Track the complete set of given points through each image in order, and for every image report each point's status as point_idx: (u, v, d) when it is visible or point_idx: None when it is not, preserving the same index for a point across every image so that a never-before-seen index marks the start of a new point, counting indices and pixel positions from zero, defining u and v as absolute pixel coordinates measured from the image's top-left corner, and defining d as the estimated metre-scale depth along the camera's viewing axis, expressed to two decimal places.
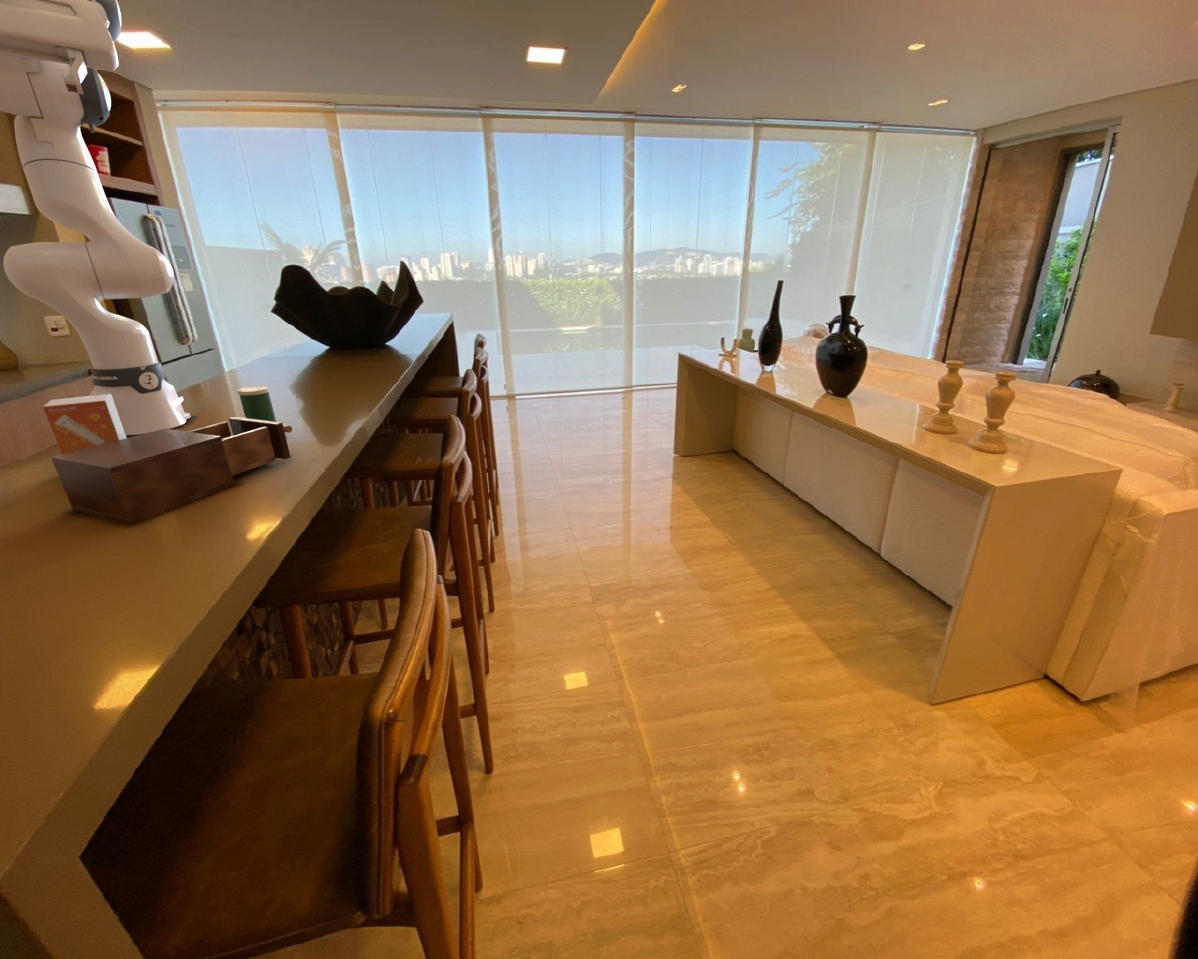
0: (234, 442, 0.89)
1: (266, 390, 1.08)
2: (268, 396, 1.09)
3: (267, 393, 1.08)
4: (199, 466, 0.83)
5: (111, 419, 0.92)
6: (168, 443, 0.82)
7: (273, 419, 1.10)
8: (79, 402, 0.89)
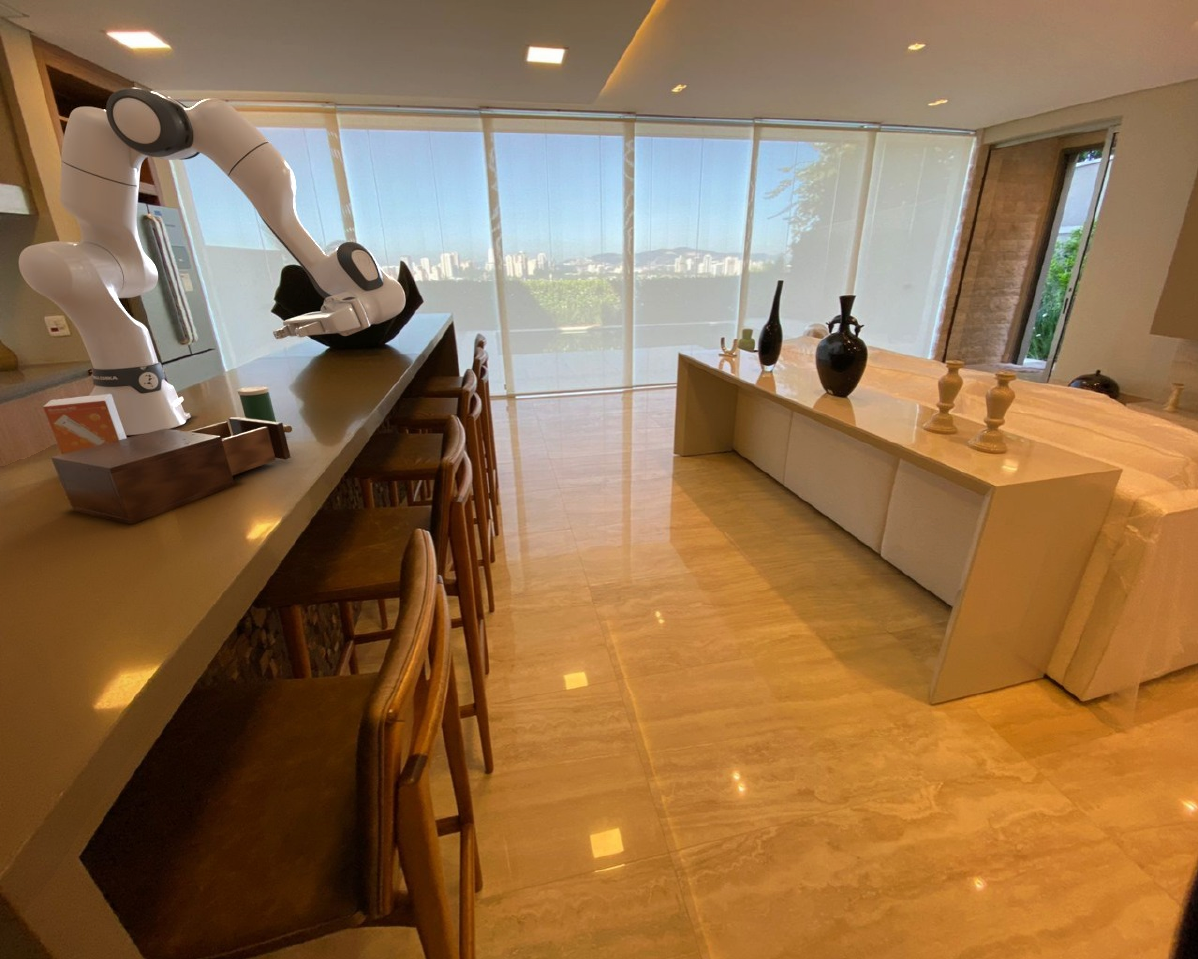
0: (234, 442, 0.89)
1: (266, 390, 1.08)
2: (268, 396, 1.09)
3: (267, 393, 1.08)
4: (199, 466, 0.83)
5: (111, 419, 0.92)
6: (168, 443, 0.82)
7: (273, 419, 1.10)
8: (79, 402, 0.89)
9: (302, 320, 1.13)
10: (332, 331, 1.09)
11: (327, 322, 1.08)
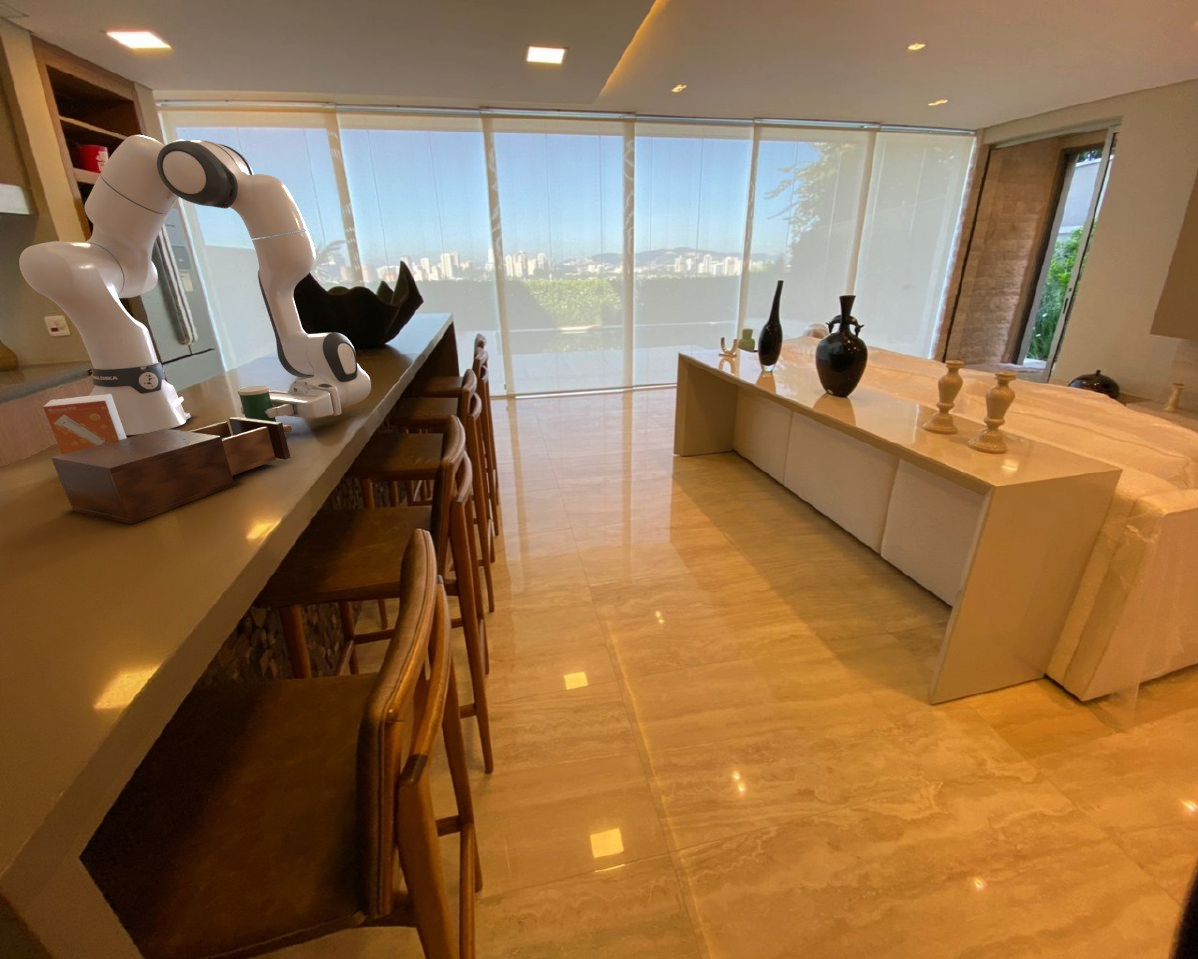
0: (234, 442, 0.89)
1: (266, 390, 1.08)
2: (268, 396, 1.09)
3: (267, 393, 1.08)
4: (199, 466, 0.83)
5: (111, 419, 0.92)
6: (168, 443, 0.82)
7: (273, 419, 1.10)
8: (79, 402, 0.89)
9: (272, 399, 1.13)
10: (309, 416, 1.10)
11: (306, 408, 1.10)
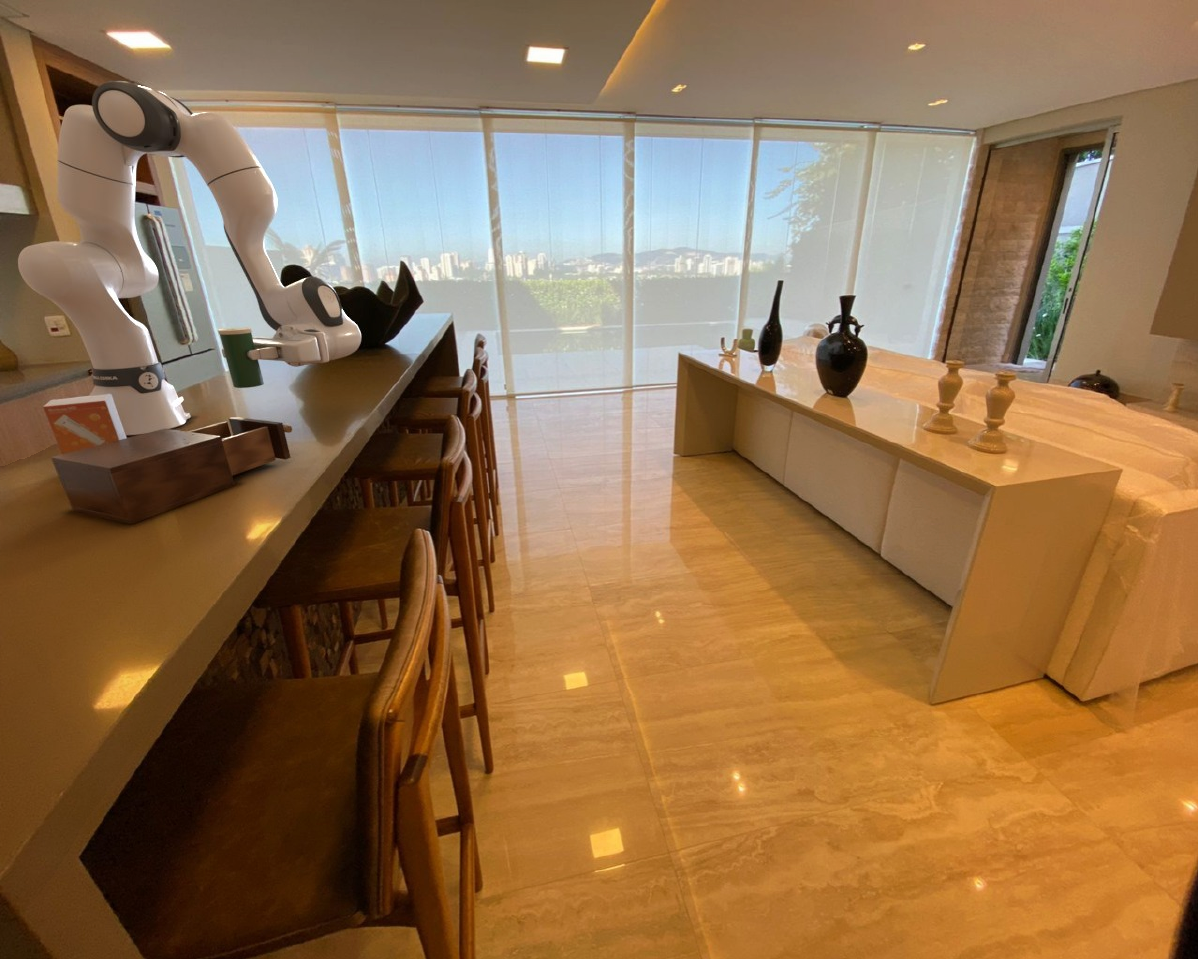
0: (234, 442, 0.89)
1: (248, 330, 1.02)
2: (250, 337, 1.03)
3: (249, 334, 1.03)
4: (199, 466, 0.83)
5: (111, 419, 0.92)
6: (168, 443, 0.82)
7: (256, 362, 1.05)
8: (79, 402, 0.89)
9: (255, 343, 1.07)
10: (294, 359, 1.05)
11: (291, 350, 1.04)
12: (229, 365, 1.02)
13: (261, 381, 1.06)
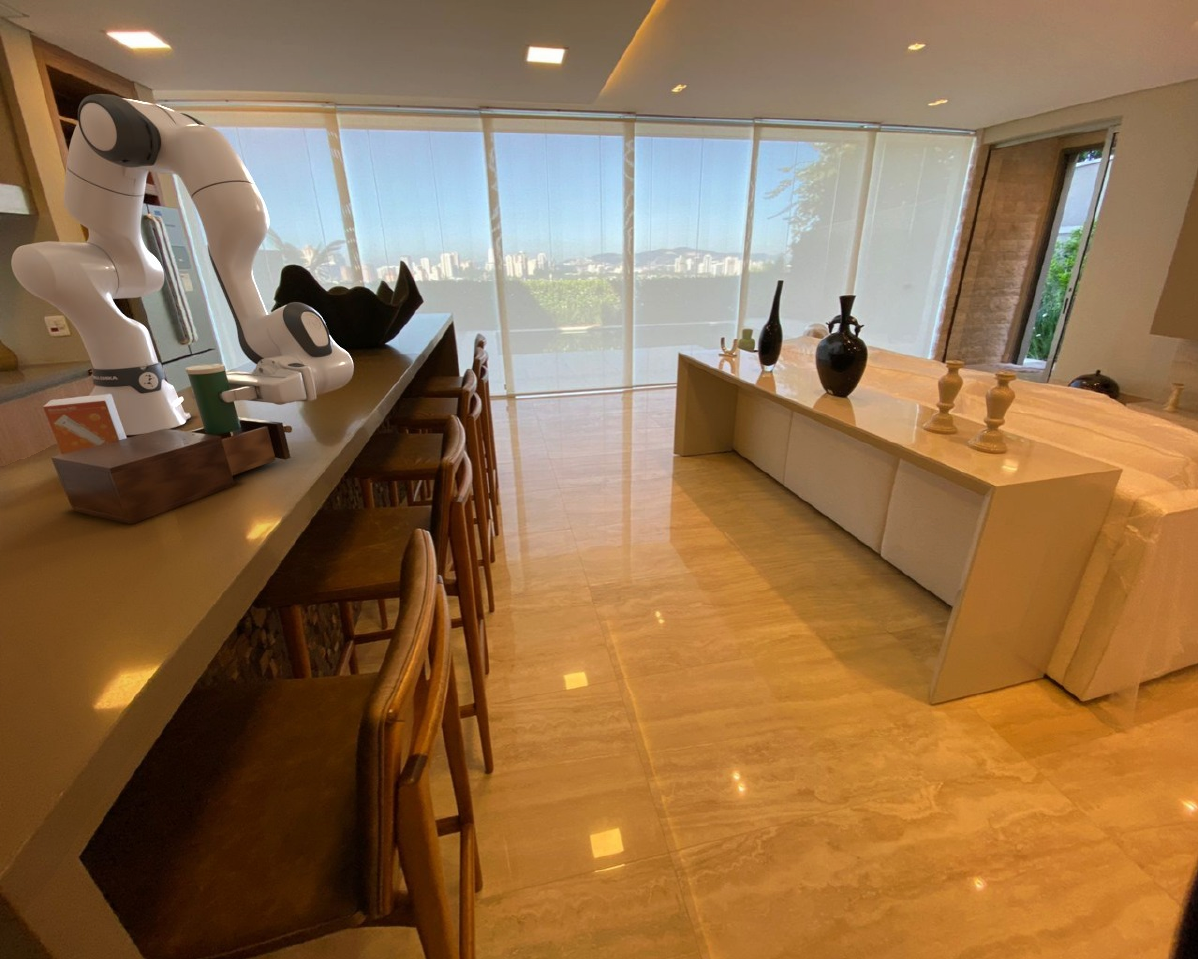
0: (234, 442, 0.89)
1: (221, 368, 0.88)
2: (224, 376, 0.89)
3: (223, 372, 0.89)
4: (199, 466, 0.83)
5: (111, 419, 0.92)
6: (168, 443, 0.82)
7: (231, 404, 0.91)
8: (79, 402, 0.89)
9: (231, 381, 0.93)
10: (275, 401, 0.91)
11: (271, 390, 0.90)
12: (199, 408, 0.89)
13: (237, 425, 0.92)
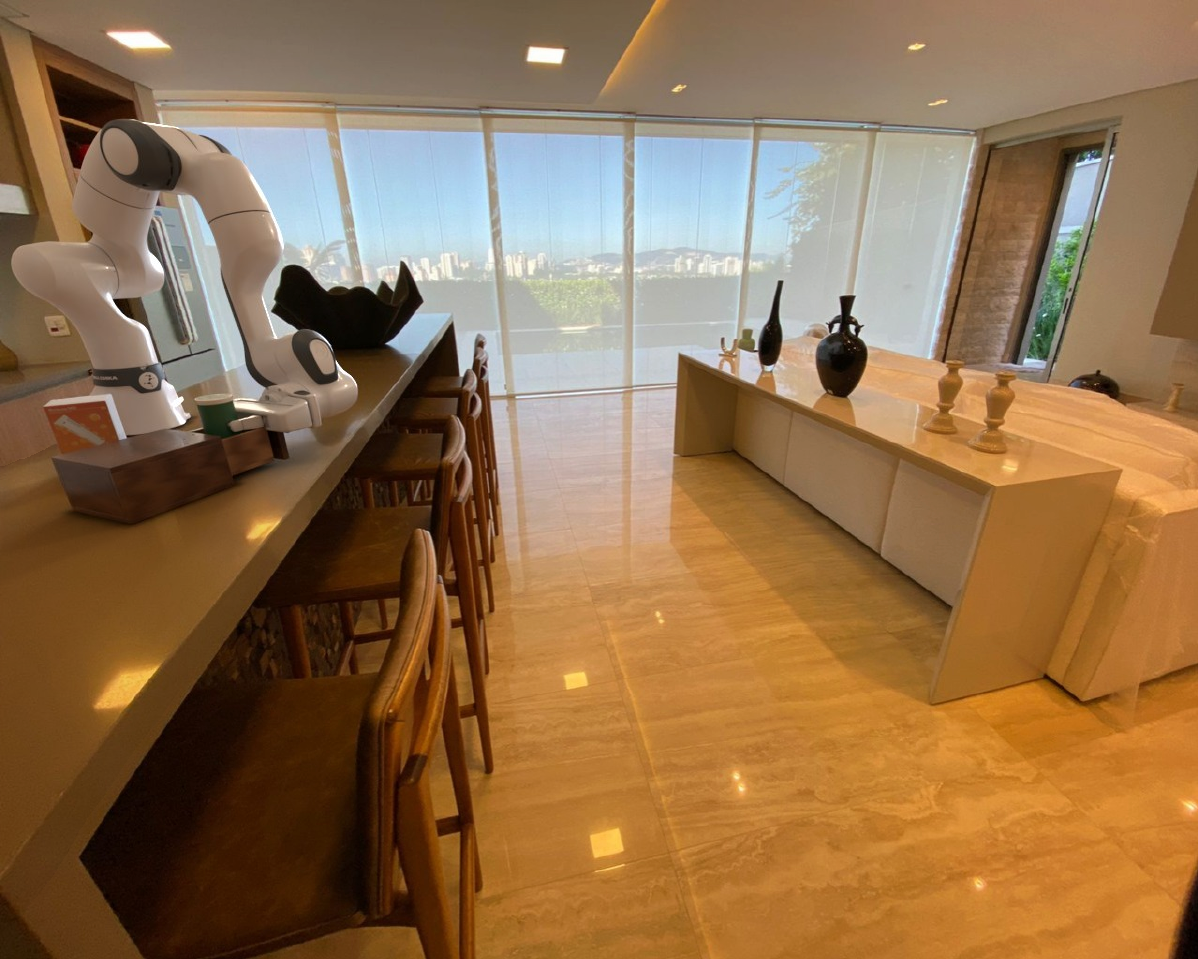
0: (233, 443, 0.89)
1: (229, 399, 0.90)
2: (232, 406, 0.91)
3: (231, 402, 0.91)
4: (199, 466, 0.83)
5: (111, 419, 0.92)
6: (168, 443, 0.82)
7: (239, 433, 0.93)
8: (79, 402, 0.89)
9: (238, 410, 0.95)
10: (281, 430, 0.93)
11: (278, 420, 0.92)
12: None
13: None
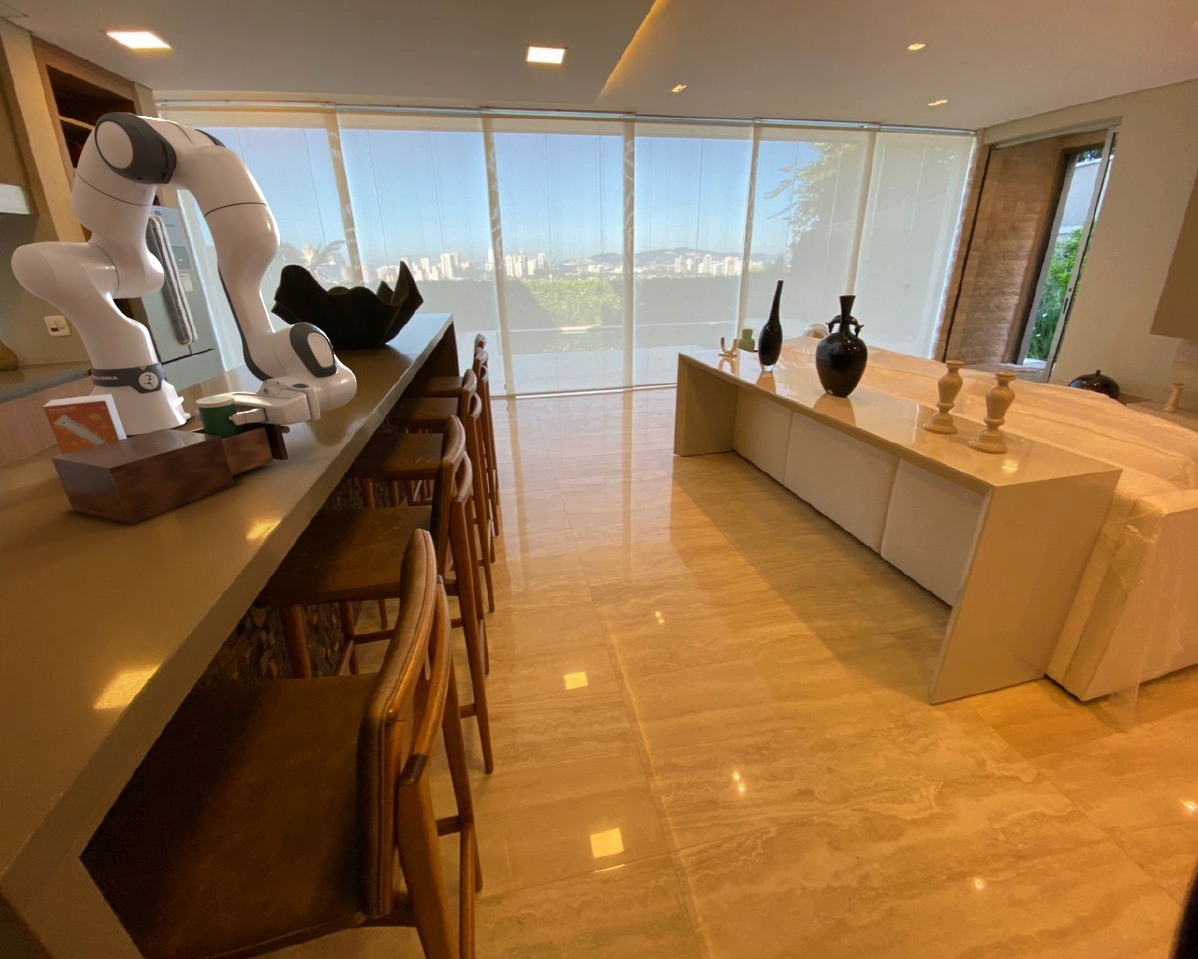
0: (231, 443, 0.89)
1: (231, 401, 0.90)
2: (233, 408, 0.91)
3: (232, 405, 0.91)
4: (199, 466, 0.83)
5: (111, 419, 0.92)
6: (168, 443, 0.82)
7: None
8: (79, 402, 0.89)
9: (236, 402, 0.94)
10: (280, 422, 0.92)
11: (276, 412, 0.92)
12: None
13: None
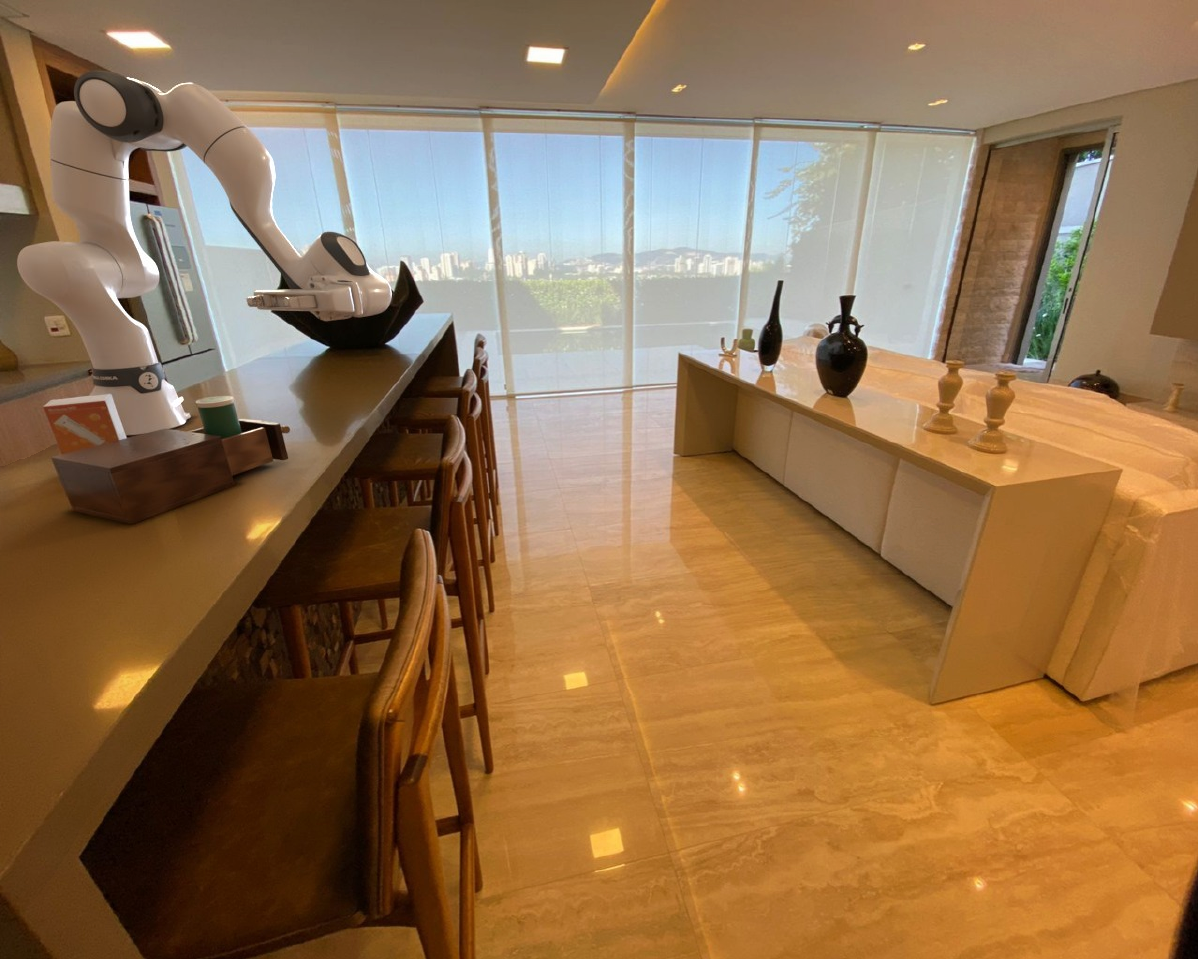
0: (231, 443, 0.89)
1: (230, 401, 0.91)
2: (233, 408, 0.91)
3: (231, 405, 0.91)
4: (199, 466, 0.83)
5: (111, 419, 0.92)
6: (168, 443, 0.82)
7: None
8: (79, 402, 0.89)
9: (286, 292, 1.01)
10: (328, 308, 0.99)
11: (325, 298, 0.98)
12: None
13: None
